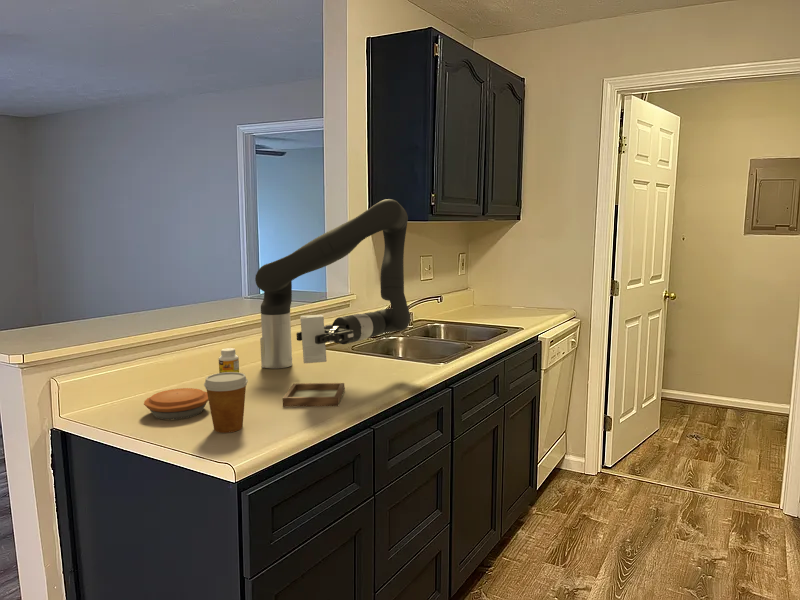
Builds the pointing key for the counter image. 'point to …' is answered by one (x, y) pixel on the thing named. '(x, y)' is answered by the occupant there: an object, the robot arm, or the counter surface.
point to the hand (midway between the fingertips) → (306, 338)
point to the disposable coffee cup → (226, 400)
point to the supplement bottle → (228, 361)
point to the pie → (177, 403)
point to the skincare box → (312, 338)
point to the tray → (313, 394)
